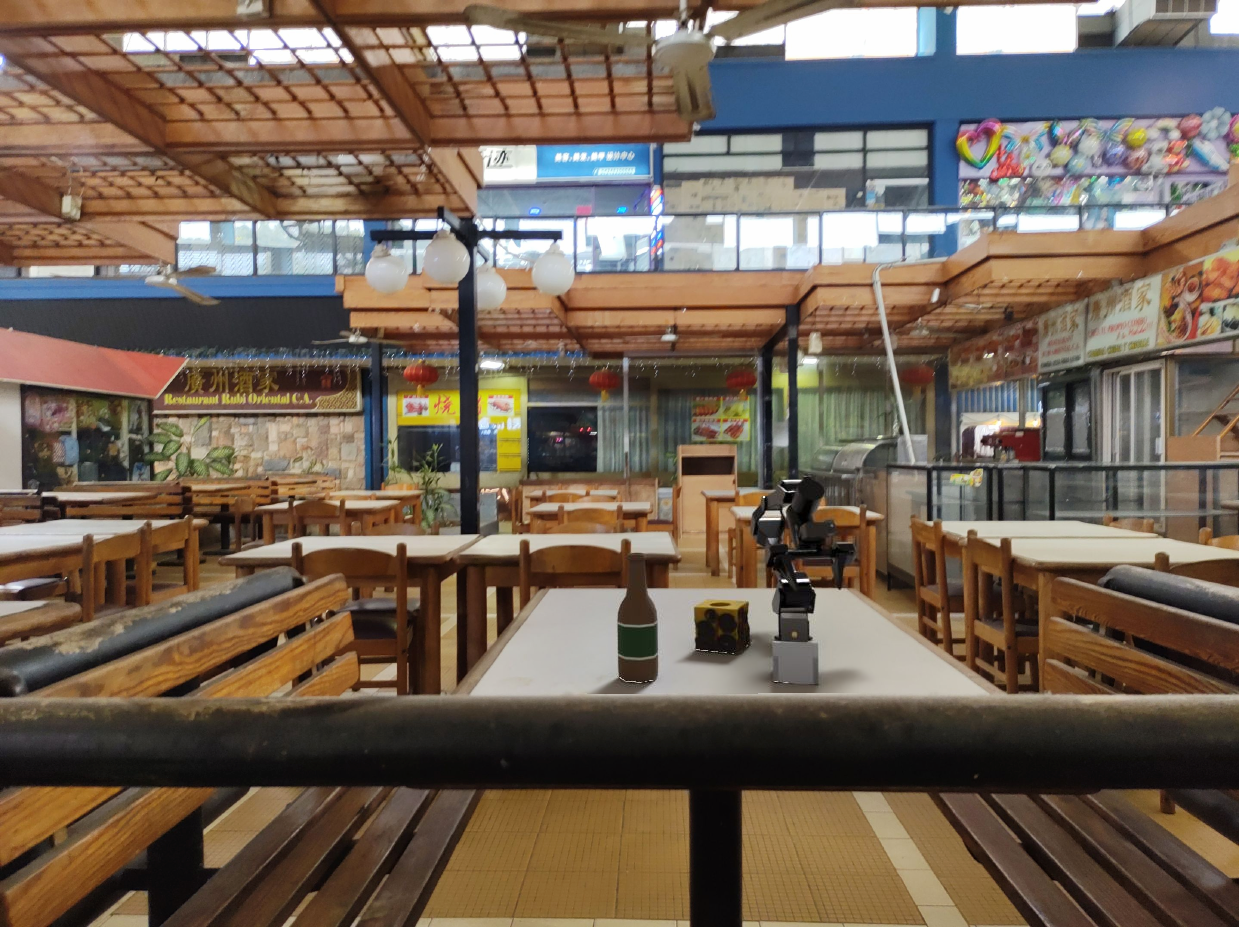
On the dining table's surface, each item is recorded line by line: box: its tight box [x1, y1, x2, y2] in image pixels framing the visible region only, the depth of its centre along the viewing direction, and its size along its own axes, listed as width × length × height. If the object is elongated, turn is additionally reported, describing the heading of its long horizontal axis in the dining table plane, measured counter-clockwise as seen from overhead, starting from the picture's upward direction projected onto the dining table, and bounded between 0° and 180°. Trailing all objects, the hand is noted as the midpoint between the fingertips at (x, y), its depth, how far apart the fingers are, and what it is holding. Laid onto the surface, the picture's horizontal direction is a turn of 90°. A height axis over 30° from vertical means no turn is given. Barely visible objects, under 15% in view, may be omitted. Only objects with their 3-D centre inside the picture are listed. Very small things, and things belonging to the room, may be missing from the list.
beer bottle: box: [616, 552, 659, 682], centre depth 138 cm, size 8×8×24 cm
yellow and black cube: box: [693, 598, 751, 655], centre depth 160 cm, size 10×10×10 cm
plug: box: [781, 613, 809, 642], centre depth 144 cm, size 6×5×10 cm
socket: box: [772, 640, 820, 685], centre depth 137 cm, size 9×8×8 cm
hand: (818, 589), depth 149 cm, fingers open, 9 cm apart
